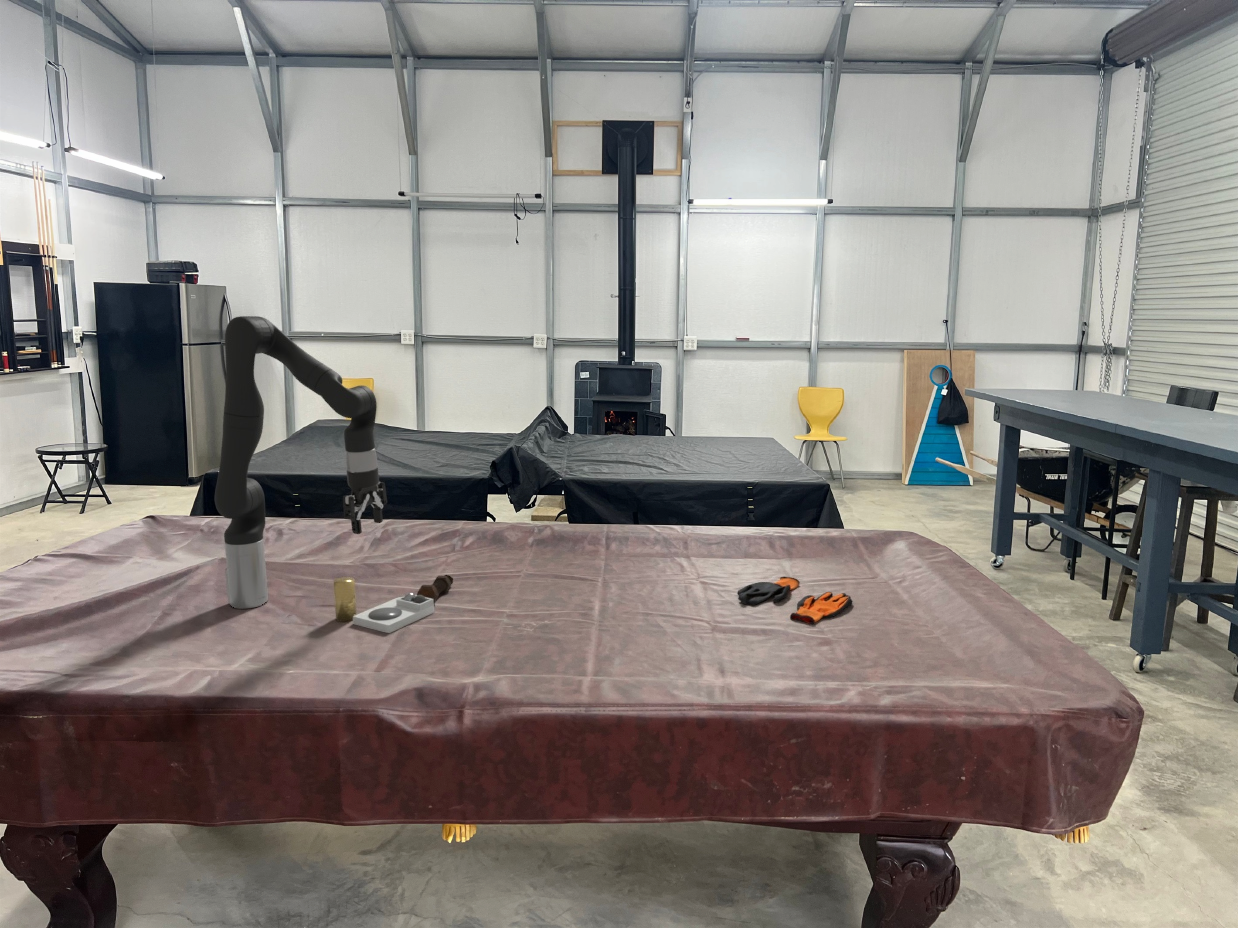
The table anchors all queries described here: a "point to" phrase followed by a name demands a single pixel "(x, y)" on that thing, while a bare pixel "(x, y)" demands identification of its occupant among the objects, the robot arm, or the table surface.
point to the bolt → (436, 587)
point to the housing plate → (394, 614)
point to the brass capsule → (345, 599)
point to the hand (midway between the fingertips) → (368, 527)
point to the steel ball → (409, 597)
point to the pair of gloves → (806, 606)
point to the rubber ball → (419, 599)
